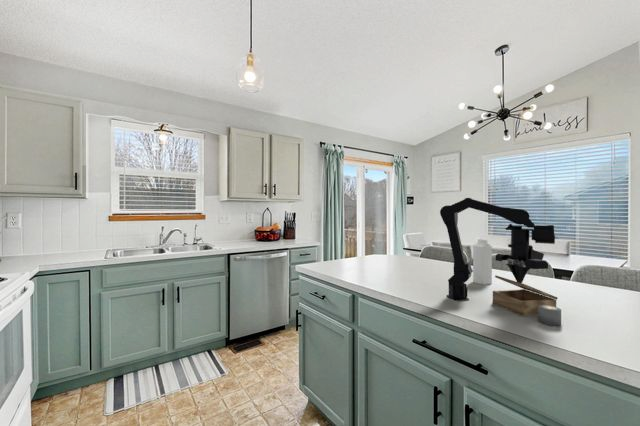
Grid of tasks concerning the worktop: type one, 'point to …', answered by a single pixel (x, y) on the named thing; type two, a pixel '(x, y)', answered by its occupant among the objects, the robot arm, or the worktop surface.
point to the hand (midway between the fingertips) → (519, 283)
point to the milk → (482, 262)
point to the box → (521, 301)
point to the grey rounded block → (549, 315)
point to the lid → (526, 287)
